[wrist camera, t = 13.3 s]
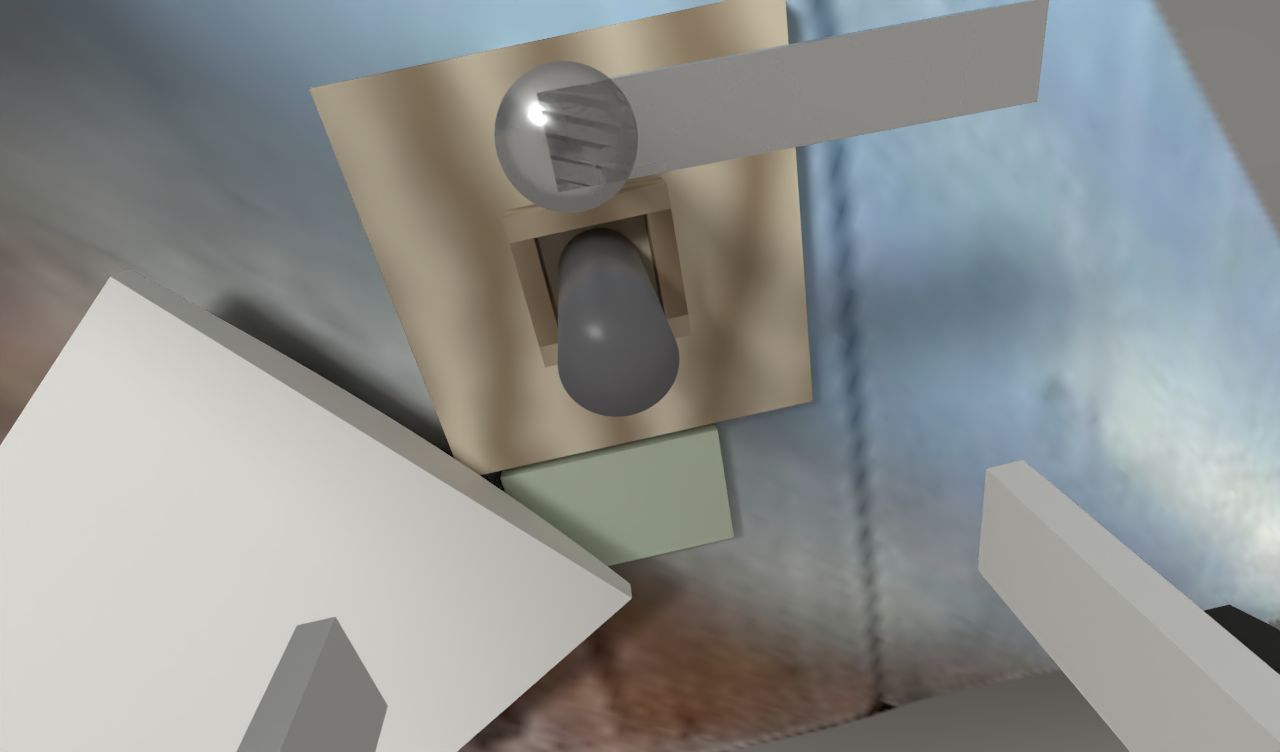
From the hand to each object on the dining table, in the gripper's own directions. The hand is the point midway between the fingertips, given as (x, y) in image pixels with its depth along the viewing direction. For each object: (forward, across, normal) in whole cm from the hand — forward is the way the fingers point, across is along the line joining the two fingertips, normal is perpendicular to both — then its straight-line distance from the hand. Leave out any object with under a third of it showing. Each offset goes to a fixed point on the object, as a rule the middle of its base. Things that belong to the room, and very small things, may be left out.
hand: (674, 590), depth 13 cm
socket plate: (+24, 0, 0) cm, 24 cm away
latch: (+10, +5, +8) cm, 14 cm away
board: (+25, -30, -21) cm, 45 cm away
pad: (+24, -2, -16) cm, 29 cm away
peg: (+23, 0, 0) cm, 23 cm away
